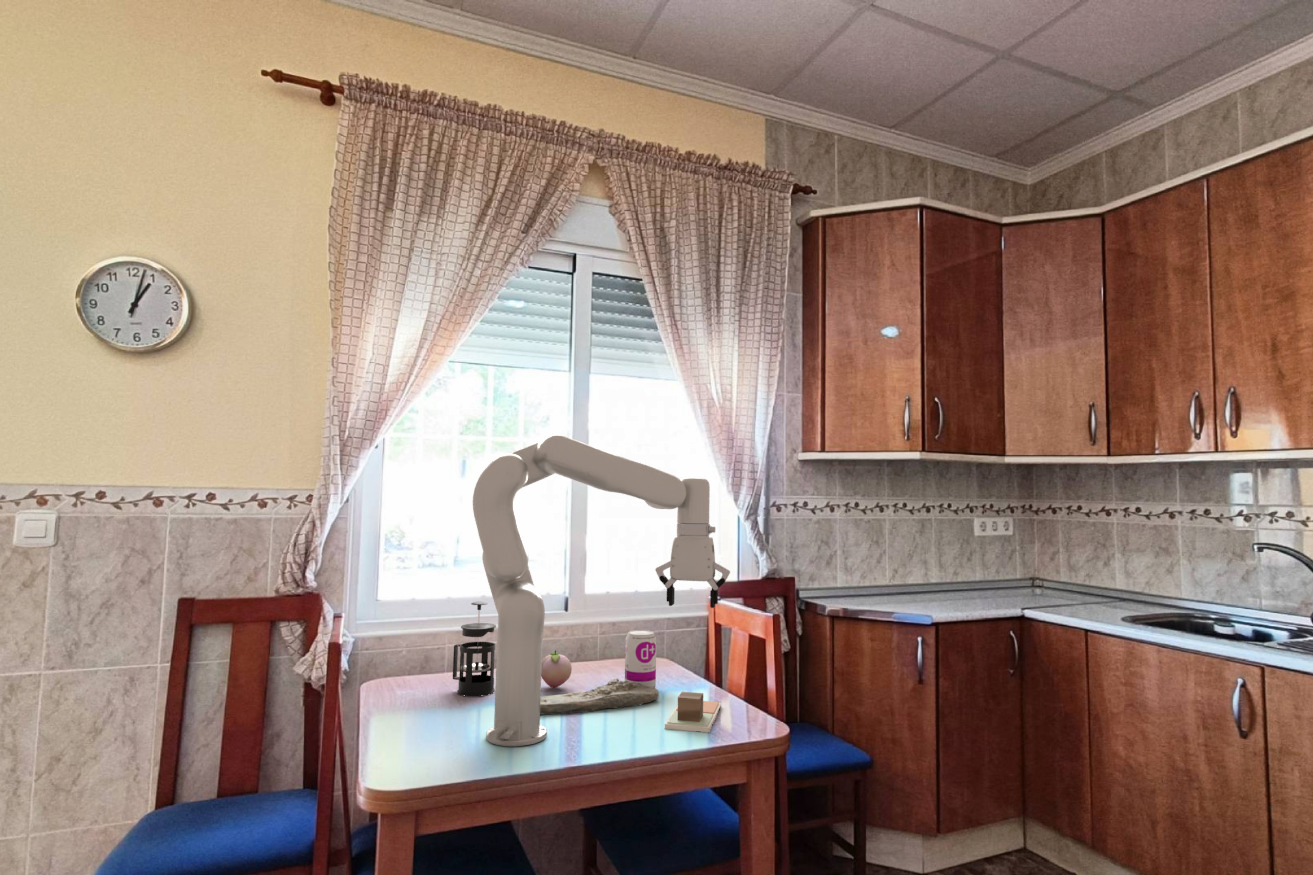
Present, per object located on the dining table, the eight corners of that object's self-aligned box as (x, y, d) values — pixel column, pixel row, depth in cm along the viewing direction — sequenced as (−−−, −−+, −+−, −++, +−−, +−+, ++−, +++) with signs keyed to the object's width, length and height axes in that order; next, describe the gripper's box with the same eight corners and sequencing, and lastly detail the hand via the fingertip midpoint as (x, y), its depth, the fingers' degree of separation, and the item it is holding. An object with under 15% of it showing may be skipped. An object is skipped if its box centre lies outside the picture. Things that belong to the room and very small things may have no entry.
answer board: (709, 732, 155) (709, 726, 155) (664, 728, 157) (664, 722, 158) (721, 707, 175) (721, 701, 175) (681, 703, 177) (681, 698, 177)
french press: (502, 688, 188) (506, 600, 190) (486, 698, 179) (490, 605, 181) (462, 685, 191) (465, 598, 193) (444, 694, 182) (448, 603, 184)
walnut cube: (699, 721, 158) (699, 698, 159) (677, 720, 159) (677, 697, 160) (703, 715, 163) (703, 693, 164) (681, 713, 164) (682, 691, 165)
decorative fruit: (575, 691, 187) (576, 652, 187) (544, 694, 184) (545, 654, 184) (566, 682, 195) (567, 645, 196) (536, 685, 192) (537, 647, 193)
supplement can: (660, 692, 187) (661, 634, 189) (630, 695, 184) (631, 636, 186) (649, 684, 195) (649, 629, 196) (620, 687, 192) (621, 630, 193)
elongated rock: (516, 714, 172) (526, 728, 163) (516, 692, 172) (525, 705, 163) (649, 692, 186) (665, 704, 177) (649, 672, 186) (664, 683, 177)
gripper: (731, 531, 167) (731, 605, 165) (660, 529, 171) (658, 602, 169) (728, 532, 160) (727, 610, 158) (653, 530, 163) (651, 606, 162)
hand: (692, 606), depth 164 cm, fingers open, 9 cm apart
